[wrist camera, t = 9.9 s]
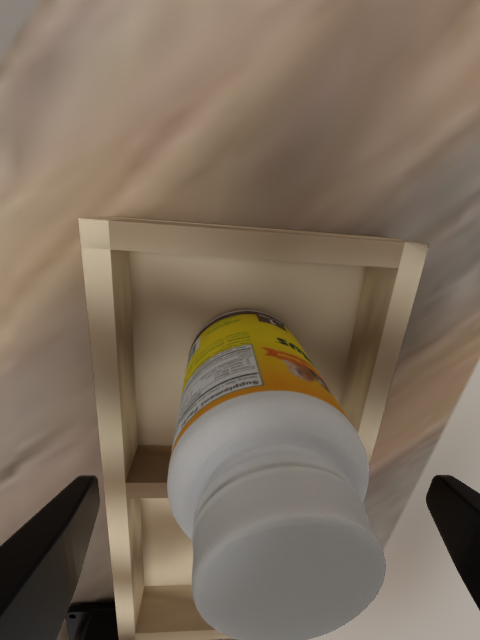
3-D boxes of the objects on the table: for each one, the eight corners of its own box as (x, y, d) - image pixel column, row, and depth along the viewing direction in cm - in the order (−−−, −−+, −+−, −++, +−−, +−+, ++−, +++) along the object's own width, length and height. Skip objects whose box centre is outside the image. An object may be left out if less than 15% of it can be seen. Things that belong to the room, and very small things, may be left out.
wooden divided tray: (308, 574, 23) (323, 633, 20) (133, 579, 22) (119, 644, 19) (383, 236, 15) (429, 243, 12) (111, 216, 14) (78, 218, 11)
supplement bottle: (312, 377, 16) (451, 614, 7) (218, 418, 17) (226, 696, 7) (272, 285, 14) (388, 434, 5) (168, 334, 15) (86, 560, 5)
